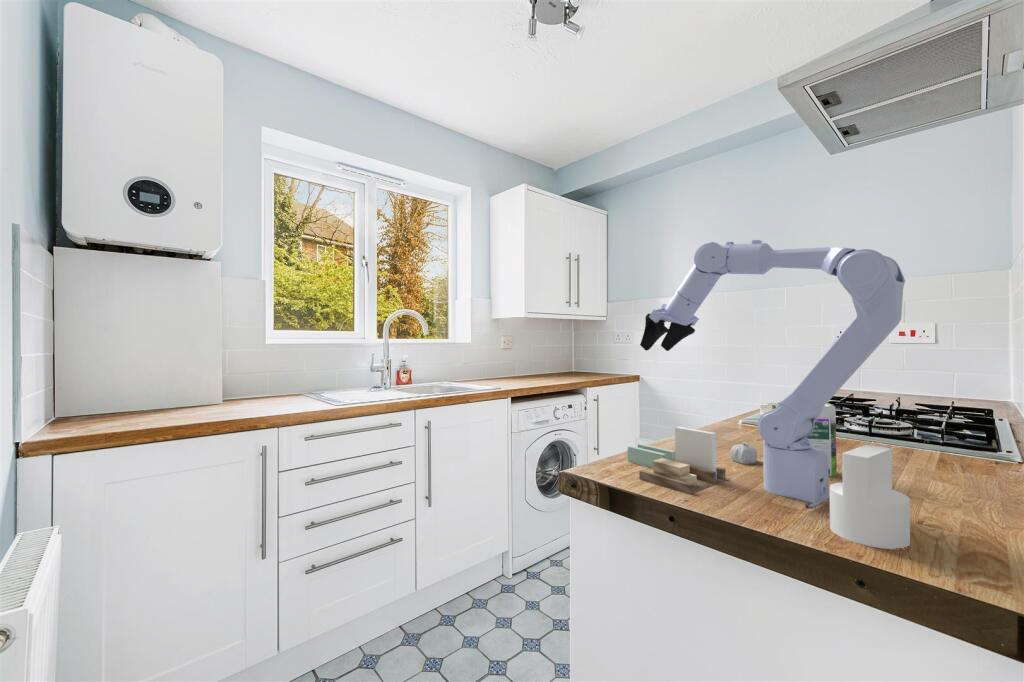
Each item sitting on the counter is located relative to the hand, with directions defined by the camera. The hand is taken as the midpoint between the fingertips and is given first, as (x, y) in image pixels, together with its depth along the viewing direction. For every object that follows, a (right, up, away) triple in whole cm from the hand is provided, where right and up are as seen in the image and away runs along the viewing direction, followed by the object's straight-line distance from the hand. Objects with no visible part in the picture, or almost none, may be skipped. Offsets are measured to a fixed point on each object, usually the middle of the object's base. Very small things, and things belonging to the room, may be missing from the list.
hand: (654, 348), depth 100 cm
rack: (+2, -26, -13) cm, 29 cm away
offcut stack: (-1, -25, -15) cm, 29 cm away
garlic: (+20, -26, -1) cm, 33 cm away
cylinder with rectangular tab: (+19, -26, -36) cm, 49 cm away
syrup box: (+31, -26, -8) cm, 41 cm away
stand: (-1, -26, -2) cm, 26 cm away
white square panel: (+5, -25, -11) cm, 28 cm away
